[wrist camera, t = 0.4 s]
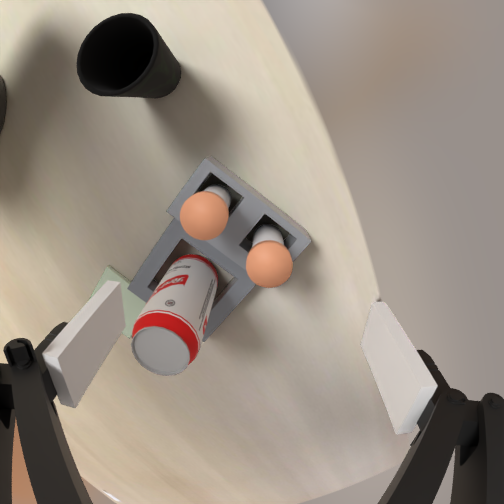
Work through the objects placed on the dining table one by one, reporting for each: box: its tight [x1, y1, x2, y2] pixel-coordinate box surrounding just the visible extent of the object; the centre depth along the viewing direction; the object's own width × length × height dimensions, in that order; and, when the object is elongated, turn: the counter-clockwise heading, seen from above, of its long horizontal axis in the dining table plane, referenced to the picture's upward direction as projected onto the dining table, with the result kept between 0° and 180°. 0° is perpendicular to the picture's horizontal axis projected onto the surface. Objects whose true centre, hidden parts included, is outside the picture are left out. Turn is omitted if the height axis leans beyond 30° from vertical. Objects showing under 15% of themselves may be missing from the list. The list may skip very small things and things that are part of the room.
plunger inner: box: [180, 184, 231, 240], centre depth 30 cm, size 4×4×8 cm
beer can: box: [131, 254, 218, 376], centre depth 33 cm, size 6×6×16 cm
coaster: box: [89, 265, 146, 339], centre depth 42 cm, size 8×8×1 cm
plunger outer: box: [246, 224, 293, 288], centre depth 32 cm, size 4×4×8 cm
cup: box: [77, 13, 181, 98], centre depth 26 cm, size 8×8×12 cm
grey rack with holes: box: [127, 156, 311, 342], centre depth 37 cm, size 14×19×4 cm
